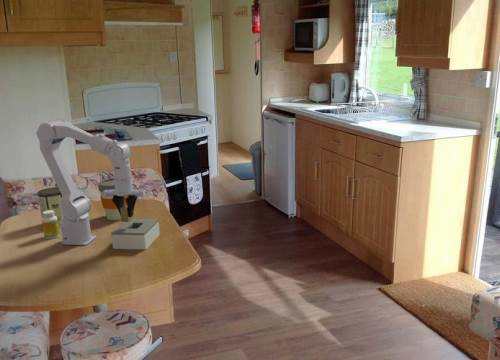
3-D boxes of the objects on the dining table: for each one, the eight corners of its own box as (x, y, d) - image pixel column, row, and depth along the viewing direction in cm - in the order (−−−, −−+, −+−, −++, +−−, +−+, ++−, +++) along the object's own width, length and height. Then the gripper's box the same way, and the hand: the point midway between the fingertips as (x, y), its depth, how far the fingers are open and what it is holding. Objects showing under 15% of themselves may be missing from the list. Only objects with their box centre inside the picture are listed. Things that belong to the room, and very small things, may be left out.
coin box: (113, 248, 167) (111, 232, 166) (129, 233, 181) (127, 218, 179) (145, 249, 165) (144, 233, 164) (159, 234, 179) (158, 219, 177)
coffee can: (59, 218, 202) (54, 185, 198) (75, 221, 197) (70, 188, 193) (37, 226, 194) (31, 192, 190) (53, 230, 188) (47, 195, 185)
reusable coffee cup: (109, 211, 208) (105, 177, 204) (137, 211, 206) (134, 177, 202) (97, 221, 196) (92, 185, 192) (126, 221, 194) (122, 185, 190)
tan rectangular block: (121, 221, 167) (120, 208, 166) (126, 218, 171) (124, 204, 169) (128, 222, 166) (126, 208, 165) (133, 218, 170) (131, 204, 169)
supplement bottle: (54, 239, 179) (50, 214, 176) (41, 238, 180) (37, 213, 177) (62, 233, 184) (59, 209, 181) (50, 233, 185) (46, 209, 182)
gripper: (97, 181, 162) (102, 219, 166) (138, 181, 160) (142, 220, 163) (106, 176, 169) (111, 212, 172) (146, 176, 166) (150, 213, 170)
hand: (127, 216), depth 168 cm, fingers closed on tan rectangular block, 2 cm apart
